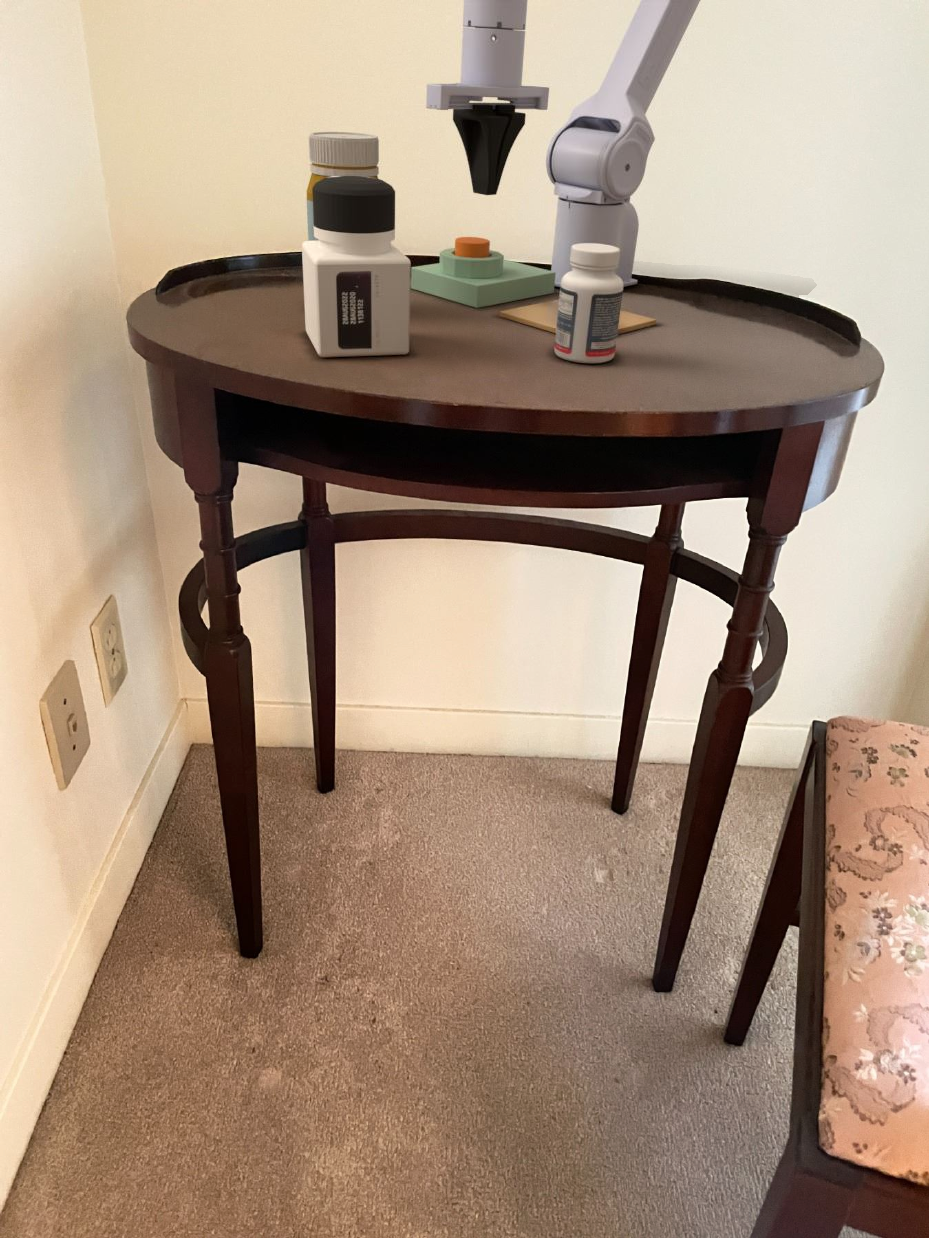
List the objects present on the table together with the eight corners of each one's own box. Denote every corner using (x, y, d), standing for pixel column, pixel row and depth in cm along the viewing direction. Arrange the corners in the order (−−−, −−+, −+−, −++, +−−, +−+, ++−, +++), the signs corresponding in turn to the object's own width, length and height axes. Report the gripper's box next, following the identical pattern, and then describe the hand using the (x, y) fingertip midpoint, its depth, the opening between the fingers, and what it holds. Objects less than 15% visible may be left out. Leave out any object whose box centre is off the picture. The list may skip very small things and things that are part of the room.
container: (410, 355, 75) (413, 185, 68) (318, 359, 73) (311, 184, 66) (390, 331, 82) (391, 173, 75) (305, 333, 80) (297, 171, 73)
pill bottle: (619, 352, 79) (634, 246, 75) (607, 368, 75) (623, 256, 70) (561, 344, 81) (572, 239, 76) (546, 359, 77) (557, 249, 72)
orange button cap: (471, 253, 96) (472, 235, 95) (495, 259, 94) (497, 241, 93) (447, 256, 94) (448, 238, 93) (471, 262, 92) (472, 244, 91)
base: (488, 275, 103) (490, 238, 101) (553, 293, 98) (557, 254, 95) (410, 288, 96) (411, 249, 94) (477, 308, 90) (479, 266, 88)
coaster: (569, 301, 95) (570, 296, 94) (655, 324, 88) (656, 319, 88) (498, 316, 88) (499, 311, 88) (586, 342, 82) (586, 337, 81)
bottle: (371, 320, 84) (370, 141, 76) (301, 313, 85) (292, 135, 77) (391, 304, 90) (392, 135, 82) (325, 297, 91) (319, 129, 83)
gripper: (515, 32, 88) (505, 184, 95) (404, 23, 79) (402, 192, 86) (571, 34, 84) (555, 193, 91) (460, 26, 75) (453, 202, 82)
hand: (484, 193), depth 88 cm, fingers closed
